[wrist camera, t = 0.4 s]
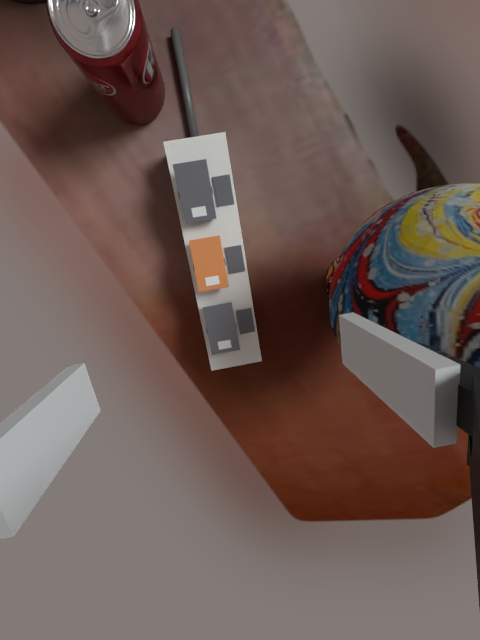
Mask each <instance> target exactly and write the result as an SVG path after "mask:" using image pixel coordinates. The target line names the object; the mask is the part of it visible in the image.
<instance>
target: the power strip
mask: <svg viewBox="0 0 480 640" xmlns="http://www.w3.org/2000/svg"><path fill="white" fill-rule="evenodd" d="M170 32H171V37H172V43H173V48H174V53H175V59H176V64H177V69H178V74H179V80H180V85H181V90H182V96H183V101H184V106H185V112H186V117H187V122H188V128H189V133H190V138H184V139H178V140H171V141H165V142H163V143H164V147H165V152H166V157H167V162H168V166H169V171H170V176H171V181H172V185H173V190H174V195H175V200H176V205H177V209H178V214H179V219H180V224H181V228H182V233H183V238H184V243H185V247H186V252H187V257H188V262H189V266H190V271H191V276H192V281H193V286H194V290H195V295H196V300H197V305H198V309H199V314H200V319H201V324H202V328H203V333H204V338H205V343H206V347H207V352H208V357H209V362H210V366H211V371H213V370H218V369H224V368H229V367H234V366H239V365H245V364H250V363H255V362H260V361H262V358H261V352H260V346H259V339H258V333H257V327H256V321H255V315H254V308H253V302H252V296H251V290H250V283H249V277H248V271H247V265H246V259H245V252H244V246H243V240H242V234H241V227H240V221H239V215H238V209H237V203H236V196H235V190H234V184H233V178H232V171H231V165H230V159H229V153H228V147H227V140H226V134H225V132H222V133H216V134H209V135H203V136H198V131H197V126H196V120H195V115H194V109H193V104H192V98H191V93H190V87H189V82H188V76H187V71H186V65H185V60H184V54H183V49H182V43H181V38H180V32H179V29H177V28H173V29H171V31H170ZM203 159H206V161H207V167H208V172H209V178H210V184H211V186H212V190H213V194H212V195H213V201H214V206H215V212H216V219H210V220H204V221H198V222H192V223H186V224H185V220H184V215H183V210H182V206H181V201H180V199H179V196H178V188H177V183H176V178H175V174H174V169H173V165H172V164H178V163H184V162H191V161H197V160H203ZM219 235H220V240H221V246H222V251H223V257H224V258H225V263H226V265H225V267H226V273H227V278H228V284H229V287H226V288H221V289H215V290H209V291H204V292H199V291H198V285H197V280H196V275H195V271H194V268H193V259H192V254H191V249H190V244H189V241H190V240H196V239H201V238H207V237H213V236H219ZM230 302H232V307H233V313H234V318H235V323H236V325H237V334H238V340H239V345H240V350H237V351H231V352H226V353H221V354H215V355H212V353H211V348H210V343H209V338H208V334H207V331H206V328H207V327H206V322H205V317H204V312H203V307H208V306H213V305H219V304H224V303H230Z"/></svg>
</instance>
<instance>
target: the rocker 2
mask: <svg viewBox="0 0 480 640" xmlns="http://www.w3.org/2000/svg"><path fill="white" fill-rule="evenodd" d="M203 312H204V317H205V322H206V327H207V328H206V331H207V334H208V338H209V343H210V348H211V353H212V355H215V354H221V353H226V352H231V351H237V350H240V345H239V340H238V334H237V325H236V323H235V318H234V313H233V307H232V302H230V303H224V304H219V305H213V306H208V307H203Z"/></svg>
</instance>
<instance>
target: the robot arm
mask: <svg viewBox="0 0 480 640" xmlns="http://www.w3.org/2000/svg"><path fill="white" fill-rule="evenodd" d="M13 1H17V2H24V3H38V2H44V1H47V0H13ZM339 324H340V338H341V351H342V363H343V364H344V365H345V366H346V367H347V368H348V369H349V370H350V371H351V372H352V373H353V374H354V375H356V376H357V377H358V378H359V379H360V380H361V381H362V382H363V383H364V384H365V385H366V386H367V387H368V388H370V389H371V390H372V391H373V392H374V393H375V394H376V395H377V396H378V397H379V398H380V399H381V400H383V401H384V402H385V403H386V404H387V405H388V406H389V407H390V408H391V409H392V410H393V411H394V412H396V413H397V414H398V415H399V416H400V417H401V418H402V419H403V420H404V421H405V422H406V423H407V424H408V425H410V426H411V427H412V428H413V429H414V430H415V431H416V432H417V433H418V434H419V435H420V436H421V437H423V438H424V439H425V440H426V441H427V442H428V443H429V444H430V445H431V446H432V447H433V448H436V447H441V446H445V445H450V444H455V443H457V428H458V427H460V428H461V429H462V430H464V431H465V432H466V433H468V434H469V436H468V453H467V465H469V466H470V480H471V494H472V506H473V507H472V508H473V522H474V534H475V535H474V536H475V549H476V564H477V579H478V591H479V592H478V593H479V607H480V367H476V366H473V365H471V364H469V363H467V362H465V361H463V360H460V359H458V358H456V357H454V356H451V355H450V354H448V353H445V352H442V351H441V350H439V349H437V348H435V347H433V346H430V345H426V344H421V343H415V342H413V341H411V340H409V339H407V338H405V337H403V336H401V335H399V334H397V333H395V332H393V331H390V330H388V329H386V328H384V327H382V326H380V325H378V324H376V323H374V322H372V321H370V320H368V319H366V318H364V317H362V316H360V315H358V314H355V313H353V312H352V313H347V314H342V315H339ZM99 412H100V407H99V405H98V402H97V399H96V396H95V393H94V390H93V387H92V384H91V381H90V378H89V376H88V373H87V370H86V367H85V364H84V363H81V364H76V365H71V366H68V367H67V368H66V369H64V370H63V371H62V372H61V373H59V374H58V375H57V376H56V377H55V378H54V379H52V380H51V381H50V382H49V383H47V384H46V385H45V386H44V387H43V388H41V389H40V390H39V391H38V392H37V393H35V394H34V395H33V396H32V397H31V398H29V399H28V400H27V401H26V402H24V403H23V404H22V405H21V406H20V407H18V408H17V409H16V410H15V411H14V412H12V413H11V414H10V415H9V416H8V417H6V418H5V419H4V420H3V421H1V423H0V539H3V538H8V537H12V536H14V535H15V534H16V533H17V531H18V530H19V528H20V527H21V526H22V524H23V523H24V521H25V520H26V518H27V517H28V515H29V514H30V512H31V511H32V510H33V508H34V507H35V505H36V504H37V502H38V501H39V499H40V498H41V496H42V494H44V492H45V491H46V489H47V488H48V486H49V485H50V483H51V482H52V481H53V479H54V478H55V476H56V475H57V473H58V472H59V470H60V469H61V467H62V466H63V465H64V463H65V462H66V460H67V459H68V457H69V456H70V454H71V453H72V451H73V450H74V449H75V447H76V446H77V444H78V443H79V441H80V440H81V438H82V437H83V436H84V434H85V433H86V431H87V430H88V428H89V427H90V425H91V424H92V422H93V421H94V419H95V418H96V417H97V415H98V414H99Z"/></svg>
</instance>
